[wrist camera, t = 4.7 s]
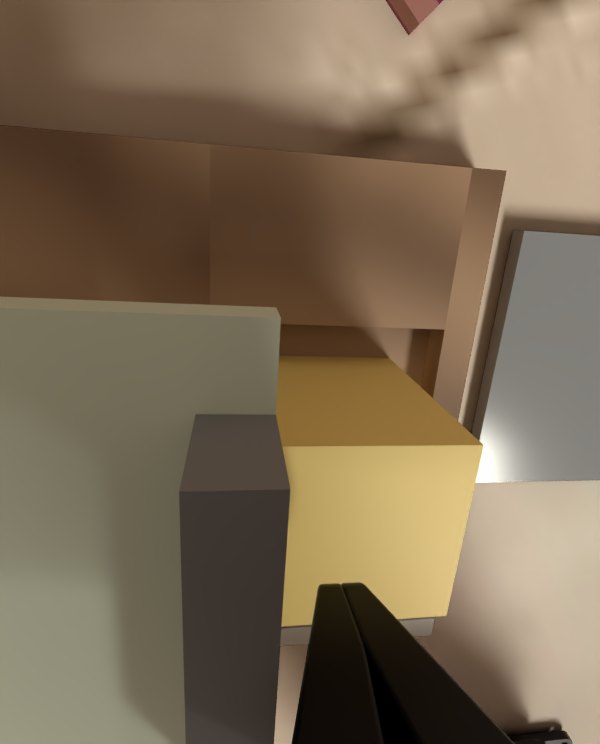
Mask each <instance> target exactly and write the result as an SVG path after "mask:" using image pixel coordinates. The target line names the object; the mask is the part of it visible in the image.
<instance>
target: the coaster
mask: <svg viewBox="0 0 600 744" xmlns="http://www.w3.org/2000/svg"><path fill="white" fill-rule="evenodd" d="M471 434H472V435H473V436H474V437H475V438H476V439H477V440H479V441H480V442H481V443H482V444H483V445H484V446H483V451H482V455H481V460H480V465H479V469H478V474H477V478H476V483H480V482H531V481H583V480H600V236H594V235H580V234H565V233H551V232H537V231H521V230H513V233H512V238H511V243H510V248H509V253H508V258H507V263H506V267H505V272H504V277H503V282H502V287H501V292H500V296H499V301H498V306H497V311H496V316H495V321H494V325H493V330H492V335H491V340H490V345H489V350H488V355H487V359H486V364H485V369H484V374H483V379H482V384H481V388H480V393H479V398H478V403H477V408H476V413H475V417H474V422H473V427H472V432H471Z"/></svg>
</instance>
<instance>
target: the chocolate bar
mask: <svg viewBox="0 0 600 744" xmlns="http://www.w3.org/2000/svg"><path fill="white" fill-rule="evenodd" d="M386 1H387V3H388V4H389V6H390V8H391V9H392V11H393V12H394V14H395V15H396V17H397V18H398V20H399V21H400V23H401V24H402V26H403V27H404V29H405V31H406V32H407V34H408V35H409V34H410V33H411V32H412V31H413V30H414V29H415V28H416V27H417V26H418V25H419V24H420V23H421V22H422V21H423V20H424V19H425V18H426V17H427V16H428V15H429V14H430V13H431V12H432V11H433V10H434V9H435V8H436V7H437V6H438V5H439V4H440V3H441V2H442V1H443V0H386Z"/></svg>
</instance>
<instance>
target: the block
mask: <svg viewBox="0 0 600 744" xmlns="http://www.w3.org/2000/svg"><path fill="white" fill-rule="evenodd" d="M276 417H277V423H278V428H279V433H280V438H281V443H282V448H283V453H284V459H285V464H286V469H287V474H288V479H289V484H290V504H289V520H288V535H287V550H286V565H285V580H284V595H283V610H282V625H281V627H283V626H298V625H312V620H313V614H314V608H315V602H316V596H317V590H318V586H319V585H320V584H331V583H339V584H342V583H353V582H361V583H363V584H365V585H366V586H367V587H368V588H369V590H370V591H371V592H372V593H373V594H374V595H375V596H376V597H377V598H378V599H379V600H380V601H381V602H382V603H383V604H384V605H385V607H386V608H387V609H388V610H389V611H390V612H391V613H392V614H393V615H394V616H395V617H396V618H397V619H406V618H421V617H436V616H447V611H448V606H449V602H450V597H451V593H452V588H453V584H454V579H455V574H456V570H457V565H458V561H459V556H460V552H461V547H462V542H463V538H464V533H465V529H466V524H467V519H468V515H469V510H470V506H471V501H472V497H473V492H474V487H475V483H476V478H477V474H478V469H479V465H480V460H481V455H482V451H483V446H484V445H483V444H482V443H481V442H480V441H479V440H477V439H476V438H475V437H474V436H473V435H472V434H471V433H470V432H469V431H468V430H467V429H466V428H464V427H463V426H462V425H461V424H460V423H459V422H458V421H457V420H456V419H455V418H454V417H453V416H452V415H450V414H449V413H448V412H447V411H446V410H445V409H444V408H443V407H442V406H441V405H440V404H439V403H437V402H436V401H435V400H434V399H433V398H432V397H431V396H430V395H429V394H428V393H427V392H426V391H424V390H423V389H422V388H421V387H420V386H419V385H418V384H417V383H416V382H415V381H414V380H413V379H411V378H410V377H409V376H408V375H407V374H406V373H405V372H404V371H403V370H402V369H401V368H400V367H398V366H397V365H396V364H395V363H394V362H393V361H392V360H391V359H390V358H359V357H316V356H279V364H278V384H277V404H276Z"/></svg>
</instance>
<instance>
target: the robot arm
mask: <svg viewBox="0 0 600 744" xmlns="http://www.w3.org/2000/svg"><path fill="white" fill-rule="evenodd" d="M572 743H573V742H572V740H571V739H570V737H569V736H568V734H567V732H565V731H552V732H543V733H533V734H524V735H515V736H507V735H506V734H505V733H504V732H503V731H502V730H501V729H500V728H499V727H498V726H497V725H496V724H495V723H494V722H493V721H492V719H491V718H490V717H489V716H488V715H487V714H486V713H485V712H484V711H483V710H482V709H481V708H480V707H479V706H478V705H477V703H476V702H475V701H474V700H473V699H472V698H471V697H470V696H469V695H468V694H467V693H466V692H465V691H464V690H463V689H462V687H461V686H460V685H459V684H458V683H457V682H456V681H455V680H454V679H453V678H452V677H451V676H450V675H449V674H448V673H447V672H446V670H445V669H444V668H443V667H442V666H441V665H440V664H439V663H438V662H437V661H436V660H435V659H434V658H433V657H432V656H431V654H430V653H429V652H428V651H427V650H426V649H425V648H424V647H423V646H422V645H421V644H420V643H419V642H418V641H417V640H416V638H415V637H414V636H413V635H412V634H411V633H410V632H409V631H408V630H407V629H406V628H405V627H404V626H403V625H402V624H401V623H400V621H399V620H398V619H397V618H396V617H395V616H394V615H393V614H392V613H391V612H390V611H389V610H388V609H387V608H386V607H385V605H384V604H383V603H382V602H381V601H380V600H379V599H378V598H377V597H376V596H375V595H374V594H373V593H372V592H371V591H370V590H369V588H368V587H367V586H366V585H365V584H363V583H361V582H353V583H342V584H339V583H331V584H320V585H319V586H318V590H317V596H316V602H315V608H314V614H313V620H312V626H311V632H310V638H309V644H308V650H307V656H306V662H305V668H304V674H303V680H302V686H301V691H300V697H299V703H298V709H297V715H296V721H295V727H294V733H293V739H292V744H572Z"/></svg>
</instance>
